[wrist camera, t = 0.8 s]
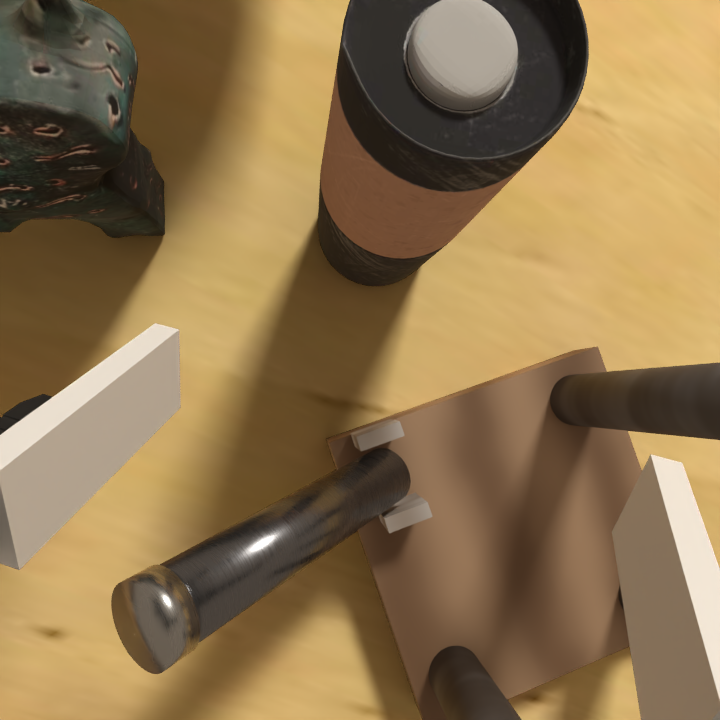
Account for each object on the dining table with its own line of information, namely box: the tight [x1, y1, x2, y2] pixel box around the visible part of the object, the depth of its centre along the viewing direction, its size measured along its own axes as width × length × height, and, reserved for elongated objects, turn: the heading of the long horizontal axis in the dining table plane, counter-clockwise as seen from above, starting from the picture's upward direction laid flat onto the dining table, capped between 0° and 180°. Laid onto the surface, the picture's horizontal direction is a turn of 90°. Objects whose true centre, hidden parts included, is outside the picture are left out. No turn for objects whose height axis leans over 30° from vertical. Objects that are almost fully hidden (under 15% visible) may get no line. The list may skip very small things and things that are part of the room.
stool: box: [326, 347, 720, 720], centre depth 27 cm, size 17×17×20 cm
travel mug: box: [318, 0, 589, 286], centre depth 27 cm, size 8×8×20 cm
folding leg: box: [111, 448, 411, 674], centre depth 25 cm, size 3×3×15 cm
